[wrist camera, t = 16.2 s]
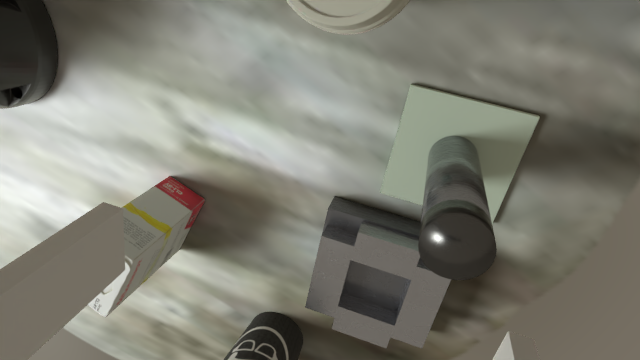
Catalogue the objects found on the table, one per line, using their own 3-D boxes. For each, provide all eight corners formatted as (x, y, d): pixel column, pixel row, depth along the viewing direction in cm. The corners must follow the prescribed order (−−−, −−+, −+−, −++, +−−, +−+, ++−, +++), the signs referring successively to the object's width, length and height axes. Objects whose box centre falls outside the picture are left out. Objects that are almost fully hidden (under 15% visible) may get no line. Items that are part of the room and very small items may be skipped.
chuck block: (312, 290, 45) (299, 319, 41) (334, 196, 40) (322, 218, 36) (421, 328, 43) (419, 362, 39) (460, 234, 38) (462, 262, 34)
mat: (380, 190, 38) (379, 192, 38) (411, 83, 34) (410, 85, 33) (490, 222, 37) (491, 225, 36) (538, 115, 32) (539, 117, 32)
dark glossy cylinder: (422, 173, 36) (409, 266, 24) (436, 129, 34) (430, 207, 22) (468, 186, 35) (480, 289, 23) (485, 143, 34) (508, 229, 21)
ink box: (169, 172, 44) (84, 228, 34) (207, 199, 44) (134, 263, 34) (144, 226, 48) (61, 290, 38) (179, 250, 48) (105, 321, 38)
